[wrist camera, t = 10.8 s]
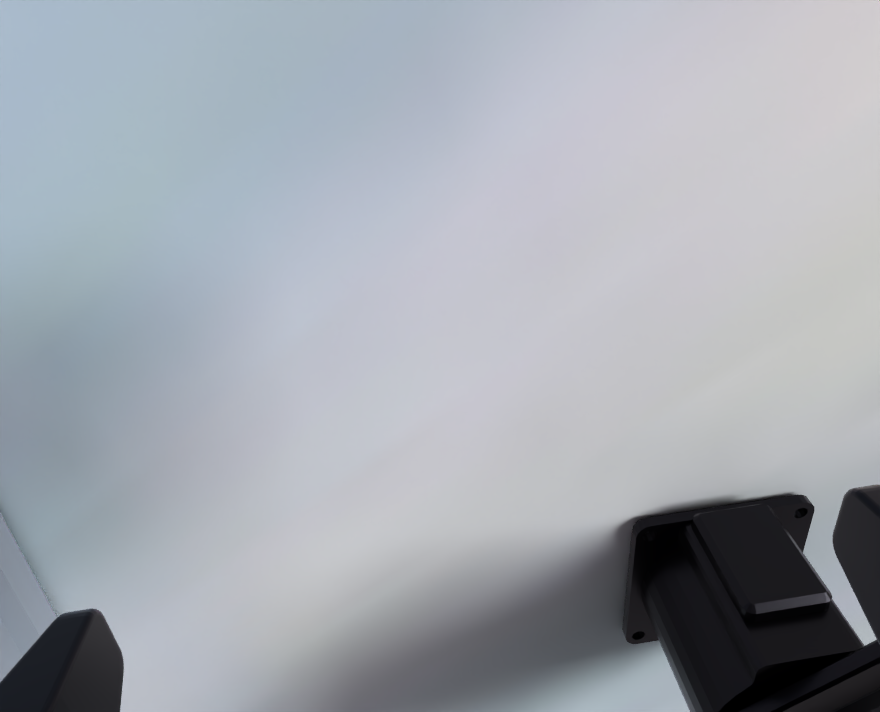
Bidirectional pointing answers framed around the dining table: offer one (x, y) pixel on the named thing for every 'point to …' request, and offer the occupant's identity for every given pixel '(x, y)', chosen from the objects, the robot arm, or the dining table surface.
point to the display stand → (19, 603)
